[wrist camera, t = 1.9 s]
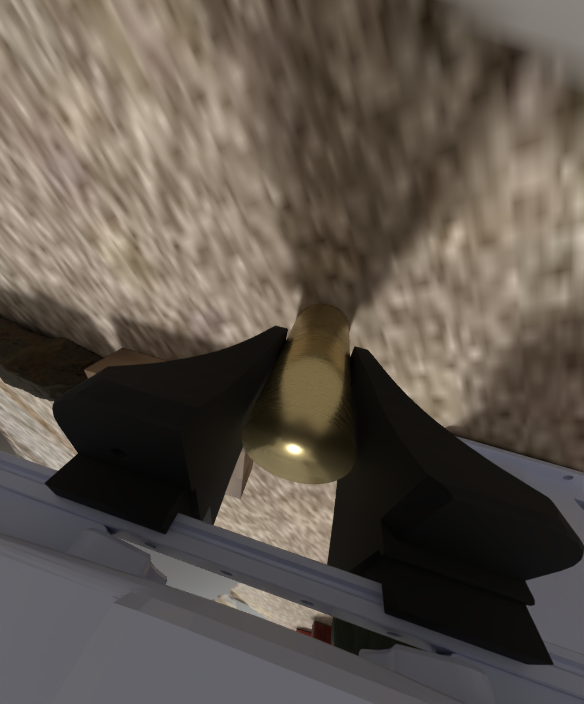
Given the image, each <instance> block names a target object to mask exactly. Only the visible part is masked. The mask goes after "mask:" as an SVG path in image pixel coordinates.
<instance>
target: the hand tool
mask: <svg viewBox="0 0 584 704" xmlns="http://www.w3.org/2000/svg"><path fill="white" fill-rule="evenodd" d="M102 359H103V358H102V357H100V356H99V355H98V354H96V353H93V352H91V351H90V350H87V349H85V348H83V347H81V346H80V345H78V344H76V343H74V342H72V341H71V340H69V339H67V338H63V337H61V338H56V339H51V338H48V337H44V336H41V335H39V334H36V333H33V332H31V331H29V330H27V329H25V328H22V327H20V326H17V325H15V324H13V323H11V322H10V321H8V320H5V319H1V318H0V378H1V379H2V380H3V382H4V383H6V384H9V385H11V386H13V387H16V388H19V389H23V390H24V391H26V392H29V393H30V394H32V395H34V396H35V397H39V398H42V399H47V400H49V401H55V399H56V398H57V397H59V396H60V395H62V394H64V393H65V392H67V391H69V390H70V389H72V388H73V387H75V386H77V385H78V384H80V383H82V382H83V381H85V380H86V379H88V377H87V375H86V373H85V371H84V369H86V368H88V367H89V366H91V365H93V364H95V363H97V362H98V361H100V360H102Z"/></svg>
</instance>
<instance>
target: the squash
mask: <svg viewBox="0 0 584 704" xmlns="http://www.w3.org/2000/svg"><path fill="white" fill-rule="evenodd" d="M395 644H399V645H403V646H407V647H411V648H415V649H419V650H423V649H420V648H417V647H415V646H412V645H409V644H406V643H404V642H401V641H398V640H396V639H393V638H390V637H387V636H385V635H382V634H379V633H377V632H374V631H371V630H368V629H366V628H363V627H360V626H357V625H355V624H352V623H349V622H347V621H344V620H341V619H338V618H336V617H333V622H332V633H331V645H332V646H335V647H337V648H340V649H342V650H345V651H347V652H350V653H352V654H355V655H357V656H359V652H360V650H361V649H369V650H384V649H390V648H392V647H393V646H394V645H395ZM423 651H425V650H423Z"/></svg>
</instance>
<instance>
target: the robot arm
mask: <svg viewBox="0 0 584 704" xmlns="http://www.w3.org/2000/svg"><path fill="white" fill-rule="evenodd" d="M287 332H288V329H287V328H283V327H279V326H274V327H272V328H270V329H268V330H266V331H264V332H263V333H261V334H259V335H257V336H255V337H253V338H250V339H248V340H246V341H243V342H241V343H239V344H236V345H234V346H231V347H228V348H225V349H222V350H219V351H216V352H212V353H208V354H204V355H199V356H195V357H190V358H185V359H179V360H173V361H166V362H158V363H149V364H136V365H123V366H108V367H106V368H104V369H103V370H101V371H99V372H98V373H96V374H95V375H93V376H91V377H90V378H88V379H86V380H85V381H83V382H82V383H80V384H78V385H77V386H75V387H73V388H72V389H70V390H69V391H67V392H65V393H64V394H62V395H60V396H59V397H57V398H56V399H55V401H54V403H53V408H52V409H53V415H54V418H55V420H56V421H57V423H58V425H59V426H60V428H61V429H62V431H63V432H64V434H65V435H66V437H67V438H68V439H69V441H70V442H71V444H72V445H73V447H74V448H75V449H76V451H77V452H78V454H77V455H76V456H75V457H74V458H72V459H71V460H70V461H69V462H68V463H67V464H66V465H64V466H63V467H62V468H61V469H60V470H59V471H57V470H54V469H51V468H48V467H45V466H42V465H40V464H37V463H34V462H31V461H28V460H25V459H22V458H19V457H17V456H14V455H11V454H8V453H5V452H2V451H0V704H584V473H583V472H580V471H576V470H573V469H569V468H566V467H562V466H559V465H555V464H552V463H548V462H545V461H541V460H538V459H534V458H531V457H527V456H524V455H520V454H517V453H513V452H510V451H506V450H503V449H499V448H496V447H492V446H489V445H485V444H482V443H478V442H475V441H471V440H468V439H464V438H461V437H457V436H454V435H453V434H452V433H450V432H449V431H448V430H447V429H445V428H444V427H443V426H441V425H440V424H439V423H438V422H436V421H435V420H434V419H433V418H432V417H430V416H429V415H428V414H427V413H426V412H425V411H424V410H422V409H421V408H420V407H419V406H418V405H417V404H416V403H415V402H414V401H413V400H412V399H411V398H409V397H408V396H407V395H406V394H405V392H404V391H403V390H402V389H401V388H400V387H399V386H398V385H397V384H396V383H395V382H394V381H393V379H392V378H391V377H390V376H389V375H388V374H387V372H386V371H385V370H384V369H383V368H382V366H381V365H380V364H379V363H378V361H377V360H376V359H375V358H374V356H373V355H372V354H371V353H370V352H369V351H368V350H366V349H363V348H359V347H354V349H353V352H352V354H351V357H350V365H351V387H352V409H353V432H354V454H355V461H354V465H353V467H352V469H351V470H350V472H349V473H348V474H347V475H345V476H344V477H342V478H341V479H339V480H337V489H336V498H335V507H334V516H333V525H332V532H331V540H330V548H329V555H328V562H327V565H326V564H323V563H320V562H318V561H315V560H312V559H309V558H306V557H303V556H300V555H298V554H295V553H292V552H289V551H286V550H283V549H280V548H277V547H275V546H272V545H269V544H266V543H263V542H260V541H257V540H255V539H252V538H249V537H246V536H243V535H240V534H237V533H234V532H232V531H229V530H226V529H223V528H220V527H217V526H214V522H215V519H216V517H217V514H218V511H219V509H220V506H221V503H222V500H223V498H224V495H225V492H226V490H227V487H228V484H229V482H230V479H231V476H232V474H233V471H234V469H235V466H236V463H237V461H238V458H239V456H240V453H241V451H242V448H243V444H242V440H241V434H242V430H243V428H244V426H245V424H246V422H247V419H248V417H249V415H250V413H251V411H252V409H253V407H254V405H255V403H256V401H257V399H258V397H259V395H260V393H261V391H262V389H263V387H264V385H265V383H266V381H267V379H268V377H269V375H270V373H271V371H272V368H273V366H274V364H275V362H276V360H277V358H278V356H279V354H280V352H281V350H282V348H283V346H284V344H285V342H286V337H287ZM117 537H118V538H117ZM119 538H121V539H124V540H126V541H129V542H132V543H134V544H137V545H140V546H143V547H146V548H148V549H151V550H154V551H157V552H159V553H162V554H165V555H167V556H170V557H173V558H175V559H178V560H181V561H183V562H186V563H189V564H192V565H194V566H197V567H200V568H202V569H205V570H208V571H211V572H213V573H216V574H219V575H222V576H224V577H227V578H230V579H232V580H235V581H238V582H241V583H243V584H246V585H249V586H251V587H254V588H257V589H260V590H262V591H265V592H268V593H270V594H273V595H276V596H279V597H281V598H284V599H287V600H289V601H292V602H295V603H298V604H300V605H303V606H306V607H309V608H311V609H314V610H317V611H319V612H322V613H325V614H328V615H330V616H333V617H336V618H338V619H341V620H344V621H347V622H349V623H352V624H355V625H357V626H360V627H363V628H366V629H368V630H371V631H374V632H377V633H379V634H382V635H385V636H387V637H390V638H393V639H396V640H398V641H401V642H404V643H406V644H409V645H412V646H415V647H417V648H420V649H423V650H425V651H423V650H419V649H415V648H411V647H407V646H403V645H399V644H395V645H394V646H393V647H392V648H390V649H384V650H369V649H361V650H360V652H359V656H357V655H355V654H352V653H350V652H347V651H345V650H342V649H340V648H337V647H335V646H332V645H330V644H327V643H325V642H322V641H320V640H317V639H315V638H312V637H310V636H307V635H305V634H302V633H300V632H297V631H294V630H292V629H289V628H286V627H284V626H281V625H278V624H276V623H273V622H270V621H268V620H265V619H263V618H260V617H257V616H254V615H251V614H249V613H246V612H243V611H240V610H238V609H235V608H232V607H229V606H226V605H223V604H221V603H218V602H215V601H212V600H209V599H206V598H203V597H200V596H197V595H194V594H191V593H188V592H185V591H182V590H179V589H176V588H173V587H170V586H167V585H165V584H166V582H167V577H166V576H165V575H164V574H163V573H161V572H160V571H159V570H158V569H156V567H155V566H154V565H153V564H152V562H151V559H150V554H148V553H146V552H144V551H142V550H140V549H138V548H136V547H134V546H133V545H131V544H128V543H127V542H125V541H123V540H121V539H119Z"/></svg>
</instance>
